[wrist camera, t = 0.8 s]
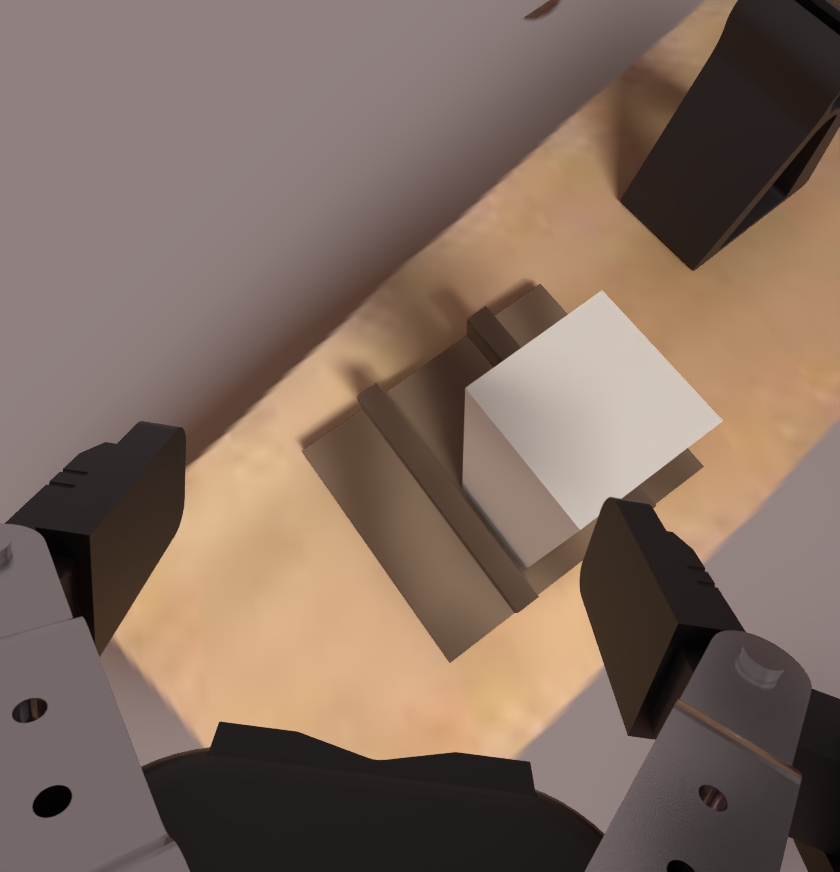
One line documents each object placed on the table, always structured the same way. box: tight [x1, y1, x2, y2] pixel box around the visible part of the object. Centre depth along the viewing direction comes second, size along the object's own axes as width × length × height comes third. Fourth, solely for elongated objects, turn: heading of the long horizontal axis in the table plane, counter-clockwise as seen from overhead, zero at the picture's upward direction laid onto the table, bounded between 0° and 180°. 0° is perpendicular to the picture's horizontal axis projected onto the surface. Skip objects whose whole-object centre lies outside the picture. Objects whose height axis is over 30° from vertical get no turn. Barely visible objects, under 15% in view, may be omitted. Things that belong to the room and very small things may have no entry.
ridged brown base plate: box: [302, 284, 704, 663], centre depth 33 cm, size 16×13×3 cm
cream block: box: [462, 291, 723, 570], centre depth 25 cm, size 5×5×15 cm
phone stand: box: [621, 0, 840, 271], centre depth 32 cm, size 9×6×12 cm, turn 128°
